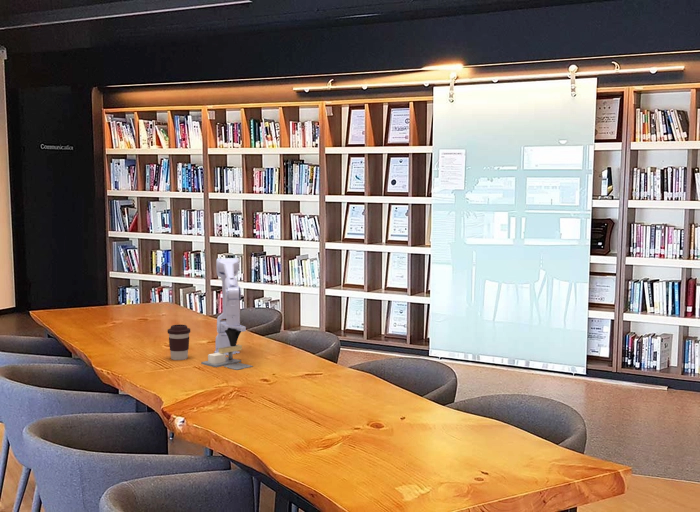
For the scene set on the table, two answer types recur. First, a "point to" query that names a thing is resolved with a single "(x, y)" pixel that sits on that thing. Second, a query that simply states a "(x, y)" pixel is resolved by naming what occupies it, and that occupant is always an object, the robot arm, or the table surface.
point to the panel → (228, 361)
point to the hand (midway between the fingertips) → (233, 346)
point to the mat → (238, 366)
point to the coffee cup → (179, 341)
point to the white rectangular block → (216, 358)
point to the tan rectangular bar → (230, 349)
